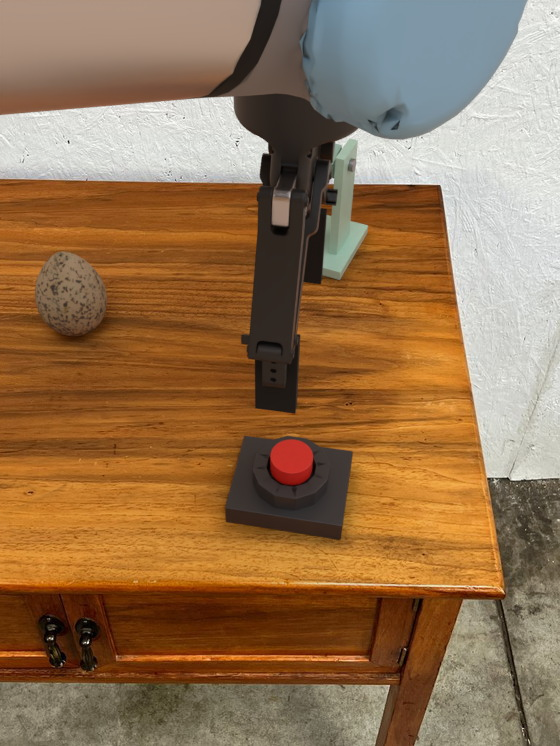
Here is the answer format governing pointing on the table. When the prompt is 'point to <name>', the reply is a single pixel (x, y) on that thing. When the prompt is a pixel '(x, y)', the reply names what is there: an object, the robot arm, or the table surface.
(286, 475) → the button
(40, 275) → the decorative egg
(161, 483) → the table surface
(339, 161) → the bracket
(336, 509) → the control block
